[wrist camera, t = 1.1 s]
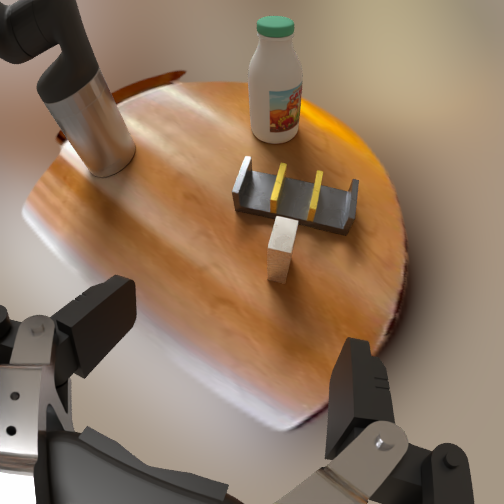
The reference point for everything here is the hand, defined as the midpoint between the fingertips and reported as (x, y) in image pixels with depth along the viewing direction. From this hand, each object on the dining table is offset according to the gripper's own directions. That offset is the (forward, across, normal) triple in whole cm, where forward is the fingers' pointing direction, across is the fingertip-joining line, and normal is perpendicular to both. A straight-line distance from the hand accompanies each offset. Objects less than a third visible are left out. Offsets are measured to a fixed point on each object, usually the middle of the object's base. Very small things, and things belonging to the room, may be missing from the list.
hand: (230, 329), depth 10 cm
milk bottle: (+42, +6, -8) cm, 43 cm away
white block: (+26, 0, +9) cm, 27 cm away
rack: (+32, 0, +2) cm, 32 cm away
